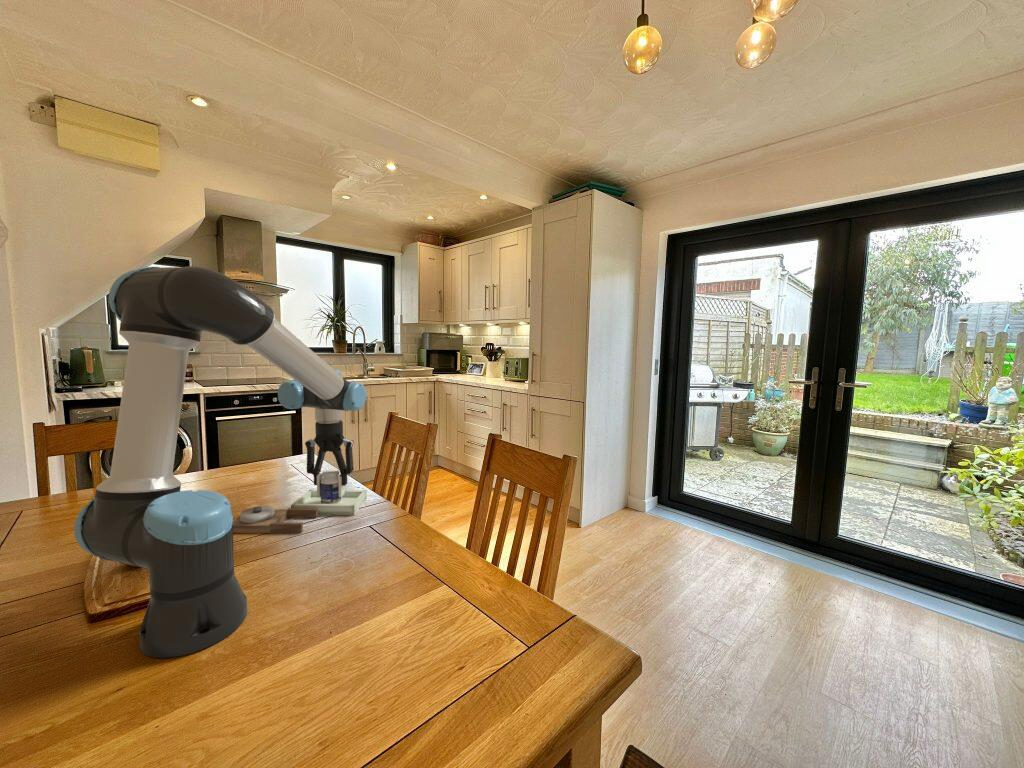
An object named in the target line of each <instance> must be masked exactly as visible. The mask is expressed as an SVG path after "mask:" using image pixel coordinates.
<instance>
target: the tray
mask: <svg viewBox="0 0 1024 768" xmlns="http://www.w3.org/2000/svg"><path fill="white" fill-rule="evenodd" d="M344 492H345V494H344V495H343V496H342V497H341V502H340V503H338V504H321V496H320V497H317V489H309V490H307V491H306V492H305V493H304V494H302V495H301V496H300V497H299V498H297V500H295V501H294V502H292V503H291V505H290V508H317V510H318V516H342V517H343V516H348V517H349V516H353V517H354V516H355V515H356V512H357V513H358V511H359V510H360V509H361V508H360V507H362V506H363V505H364V504H365V503H364V502H367V500H366V499H368V490H355V489H354V490H351V489H350V490H348V489H346V490H345V489H344ZM363 503H364V504H363ZM362 504H363V505H362ZM359 508H360V509H359Z"/></svg>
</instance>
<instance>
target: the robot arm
mask: <svg viewBox="0 0 1024 768" xmlns="http://www.w3.org/2000/svg"><path fill="white" fill-rule="evenodd" d="M108 303H109V307H110V310H111V312H112V313H114V314H115V316H116V318H117V320H118V321H120V324H119V331H118V334H119V335H120V336H121V337H122V338H123V339H124V340H125V341H126V342H127V343H128V349H127V357H126V363H125V371H124V377H123V384H122V391H121V398H120V406H119V412H118V419H117V426H116V434H115V439H114V447H113V454H112V460H111V467H110V475H109V477H107V478H106V479H104V481H102V482H101V483H98V485H97V486H96V487H95V492H94V493H95V494H94V497H93V498H92V499H90V500H89V501H88V503H87V504H86V505H85V506H82V508H81V509H80V511H79V513H77V516H76V518H75V521H74V526H73V530H74V531H73V532H74V533H73V534H74V538H75V541H76V542H77V545H79V547H80V548H81V549H82V550H84V551H85V552H86V553H89V554H91V555H93V556H94V557H97V558H99V559H101V560H104V561H109V562H118V563H122V564H126V565H131V566H135V567H139V568H144V569H147V570H148V579H149V581H148V582H149V592H150V598H149V602H148V604H147V608H146V611H145V614H144V616H143V619H142V622H141V625H140V628H139V632H138V641H139V649H140V651H141V652H142V653H143V654H144V655H145V656H148V657H150V658H154V659H155V658H156V659H171V658H179V657H181V656H186V655H189V654H194V653H196V652H199V651H201V650H203V649H206V648H209V647H211V646H213V645H215V644H217V643H219V642H220V641H222V640H224V639H226V638H227V637H228V636H230V635H231V634H232V633H234V632H235V631H236V630H237V629H239V627H240V626H241V625H242V624H243V623H244V622H245V620H246V618H247V616H248V599H247V596H246V595H245V593H244V592H243V590H242V587H241V584H240V583H239V580H238V578H237V576H236V573H235V565H234V564H235V559H234V556H235V555H234V533H233V521H234V517H233V514H232V508H231V503H230V501H229V499H228V498H227V497H226V496H225V495H223V494H222V493H219V492H216V491H212V490H203V489H198V490H195V491H194V490H191V489H190V490H182V491H181V486H182V482H181V481H180V480H179V479H178V478H177V477H175V475H174V474H173V471H174V465H175V457H176V456H175V455H176V452H177V451H176V450H177V441H178V433H179V428H180V427H179V426H180V421H181V420H180V418H181V413H182V404H183V399H184V391H185V390H184V389H185V383H186V375H187V374H186V373H187V367H188V366H187V365H188V359H189V353H190V351H191V350H192V349H194V348H195V347H197V346H199V345H200V344H201V337H202V332H208V333H211V334H212V333H213V334H217V335H220V336H222V337H224V338H226V339H228V340H229V341H231V342H232V343H233V344H235V345H237V346H248V347H249V348H250V349H252V350H253V351H254V352H256V353H257V354H258V355H260V356H261V357H263V358H264V359H266V360H267V361H268V362H270V363H271V364H272V365H274V366H275V367H276V368H278V369H279V370H281V371H282V372H284V373H285V374H287V375H288V376H289V377H291V378H292V379H291V380H288V381H284V382H283V383H281V384H280V385H279V387H278V389H277V399H278V401H279V404H281V406H282V407H284V408H285V409H288V410H294V409H297V410H299V409H300V408H312V409H313V408H314V420H315V422H314V423H315V426H314V428H315V437H314V438H313V439H311V438H310V439H308V440H306V441H305V442H304V444H305V447H306V473H307V474H311V475H312V476H313V485H314V486H316V490H317V497H320V496H321V480H322V478H323V476H322V468H323V464H324V459H325V456H326V453H327V452H330V453H332V454H333V456H334V459H335V461H336V464H337V467H338V470H339V475H338V487H339V497H342V496H343V495H344V494H345V492H344V490H345V486H346V485H347V484H348V475H349V474H351V473H353V471H354V470H355V469H354V457H353V456H354V455H353V446H354V440H352V439H350V440H349V439H345V437H344V425H343V424H344V423H343V416H344V415H343V413H344V412H343V411H346V412H349V411H350V412H351V411H353V412H356V411H359V410H361V409H362V408H363V407H364V406H365V404H366V401H367V398H368V397H367V396H368V395H367V394H368V393H367V389H366V387H365V386H364V384H362V383H361V382H355V381H348V380H347V379H346V378H344V377H343V376H342V372H341V370H339V369H337V368H336V369H335V368H333V367H331V365H329V364H328V363H327V362H326V361H325V360H324V359H322V357H320V356H319V355H318V354H316V353H315V352H314V351H313V350H312V349H311V348H309V346H307V345H306V343H304V342H303V341H302V340H300V339H299V338H298V337H297V336H296V335H295V334H293V332H291V331H290V330H289V329H288V328H287V327H286V326H284V325H283V324H282V323H281V322H280V321H278V319H276V314H275V310H274V309H273V308H272V307H270V306H269V305H268V304H267V303H266V302H265V301H264V300H262V299H261V298H260V297H259V296H257V295H256V294H255V293H254V292H253V291H251V290H250V289H248V288H247V287H246V286H244V285H242V284H241V283H239V282H238V281H236V280H235V279H233V278H231V277H230V276H227V275H225V274H224V273H222V272H219V271H217V270H214V269H212V268H207V267H204V266H203V267H202V266H194V265H192V266H175V267H174V266H173V267H171V266H169V267H168V266H167V267H164V266H163V267H160V266H147V267H141V268H137V269H132V270H129V271H127V272H125V273H123V274H121V275H120V276H118V277H117V278H116V280H114V282H113V283H112V285H111V287H110V290H109V293H108ZM342 445H343V446H344V448H345V449H344V451H345V459H344V456H343V452H342V448H341V446H342ZM315 446H317V447H318V452H317V457H316V458H315V450H316V449H315ZM315 459H316V460H315Z"/></svg>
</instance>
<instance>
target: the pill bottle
mask: <svg viewBox="0 0 1024 768" xmlns="http://www.w3.org/2000/svg"><path fill="white" fill-rule="evenodd" d="M321 473H322V476H323V478H322V480H321V504H338V503H340V502H341V497H339V487H338V476H339V475H340V470H339V469H336V468H330V469H325V470H323V471H321Z"/></svg>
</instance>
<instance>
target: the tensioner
mask: <svg viewBox="0 0 1024 768" xmlns="http://www.w3.org/2000/svg"><path fill="white" fill-rule="evenodd" d="M318 517H319V515H318V510H317V508H291V507H290V508H287V509H275V508H274V507H273V506H272V505H271V506H269V505H258V506H253V507H249V508H247V509H245V510H242V511H240V513H239V516H238V517H237V518H235V519H233V534H236V533H237V534H244V533H245V534H302V533H303V532H304V525H303V524H304V523H303V522H300V521H299V522H296V521H295V522H293V521H292V522H290V521H289V522H287V519H317V518H318ZM285 521H286V522H285Z"/></svg>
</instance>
